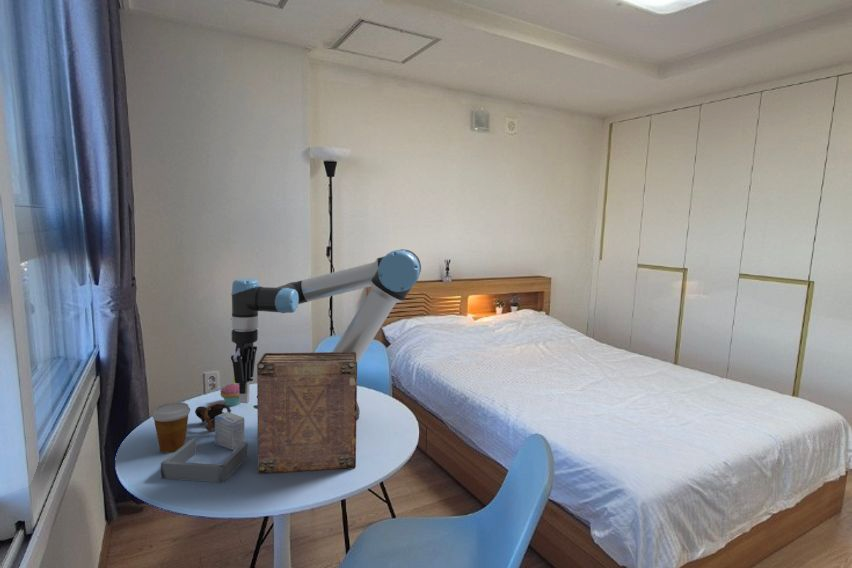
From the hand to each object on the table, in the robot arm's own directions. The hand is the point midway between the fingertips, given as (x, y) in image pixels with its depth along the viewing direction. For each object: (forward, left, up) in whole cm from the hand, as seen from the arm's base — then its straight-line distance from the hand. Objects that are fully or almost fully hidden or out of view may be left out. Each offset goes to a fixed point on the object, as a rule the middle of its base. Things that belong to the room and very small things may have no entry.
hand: (244, 402), depth 139 cm
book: (-26, +17, -9) cm, 33 cm away
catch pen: (0, +22, -9) cm, 24 cm away
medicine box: (0, +10, -9) cm, 14 cm away
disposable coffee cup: (+15, +14, -9) cm, 22 cm away
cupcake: (+14, -20, -9) cm, 26 cm away
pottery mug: (+11, -2, -9) cm, 15 cm away
